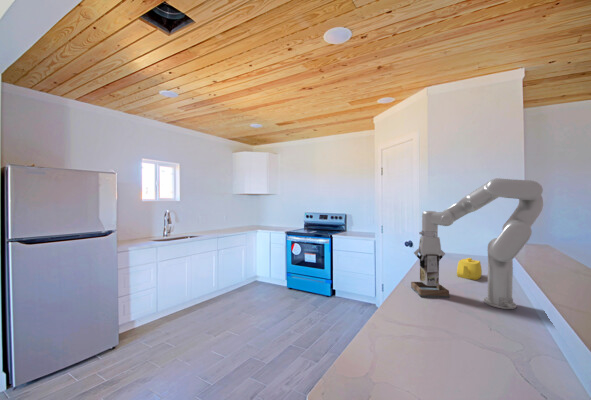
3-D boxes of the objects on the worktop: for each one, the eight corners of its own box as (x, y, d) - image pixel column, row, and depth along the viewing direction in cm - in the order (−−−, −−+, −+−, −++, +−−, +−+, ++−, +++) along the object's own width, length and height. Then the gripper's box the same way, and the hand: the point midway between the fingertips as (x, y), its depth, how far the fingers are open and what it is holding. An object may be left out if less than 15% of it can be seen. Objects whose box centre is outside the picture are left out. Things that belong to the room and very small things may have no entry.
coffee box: (439, 286, 143) (439, 255, 143) (426, 286, 143) (427, 255, 143) (431, 280, 152) (431, 251, 152) (419, 280, 153) (419, 251, 152)
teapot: (475, 282, 165) (476, 262, 165) (453, 278, 174) (453, 259, 174) (484, 275, 179) (484, 257, 178) (462, 271, 188) (462, 254, 187)
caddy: (449, 297, 140) (449, 290, 140) (420, 297, 141) (420, 290, 141) (436, 288, 154) (436, 282, 154) (411, 287, 155) (411, 281, 155)
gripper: (415, 235, 144) (415, 269, 144) (449, 235, 143) (449, 269, 143) (410, 233, 152) (410, 265, 152) (443, 233, 150) (442, 266, 151)
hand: (429, 267), depth 148 cm, fingers closed on coffee box, 6 cm apart
